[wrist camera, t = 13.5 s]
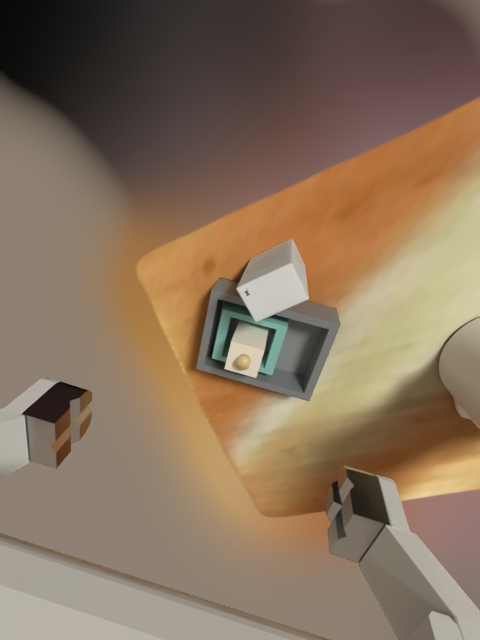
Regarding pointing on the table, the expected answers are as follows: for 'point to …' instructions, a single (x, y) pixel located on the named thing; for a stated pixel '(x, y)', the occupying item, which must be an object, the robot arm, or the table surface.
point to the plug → (247, 348)
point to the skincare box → (274, 281)
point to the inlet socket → (243, 313)
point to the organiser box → (296, 351)
